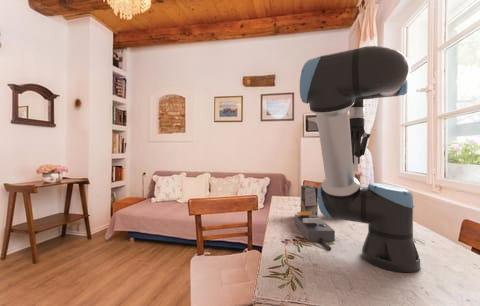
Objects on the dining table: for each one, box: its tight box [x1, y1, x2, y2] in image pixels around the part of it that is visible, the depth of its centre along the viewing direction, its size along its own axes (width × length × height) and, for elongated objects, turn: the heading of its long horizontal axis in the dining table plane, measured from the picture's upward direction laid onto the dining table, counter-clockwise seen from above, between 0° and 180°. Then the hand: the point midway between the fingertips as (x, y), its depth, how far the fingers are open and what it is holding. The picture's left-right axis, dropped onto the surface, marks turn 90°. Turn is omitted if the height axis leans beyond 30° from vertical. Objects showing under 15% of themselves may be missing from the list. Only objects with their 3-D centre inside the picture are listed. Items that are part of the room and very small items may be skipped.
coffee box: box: [300, 185, 319, 216], centre depth 117 cm, size 9×6×16 cm
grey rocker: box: [303, 218, 321, 223], centre depth 93 cm, size 7×5×2 cm
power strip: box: [294, 214, 336, 251], centre depth 94 cm, size 30×10×5 cm, turn 0°
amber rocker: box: [296, 210, 313, 216], centre depth 103 cm, size 7×5×2 cm
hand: (354, 171), depth 102 cm, fingers closed
